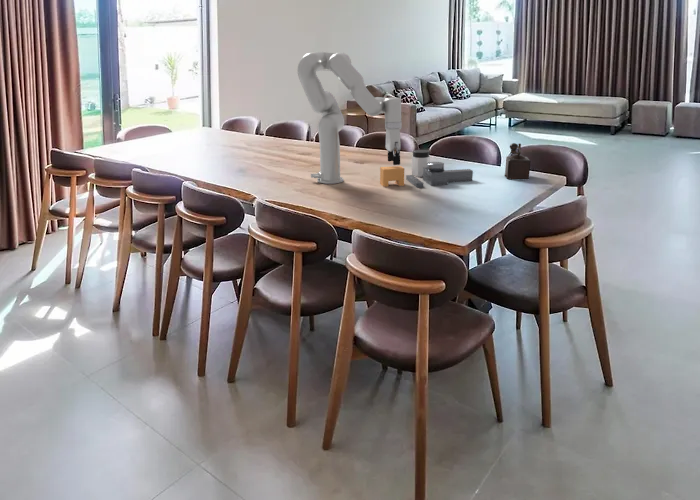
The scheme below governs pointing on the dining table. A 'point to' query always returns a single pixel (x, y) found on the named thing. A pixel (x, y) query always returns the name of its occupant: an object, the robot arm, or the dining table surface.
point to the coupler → (440, 175)
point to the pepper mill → (517, 164)
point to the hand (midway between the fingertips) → (393, 162)
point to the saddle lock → (392, 175)
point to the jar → (419, 162)
